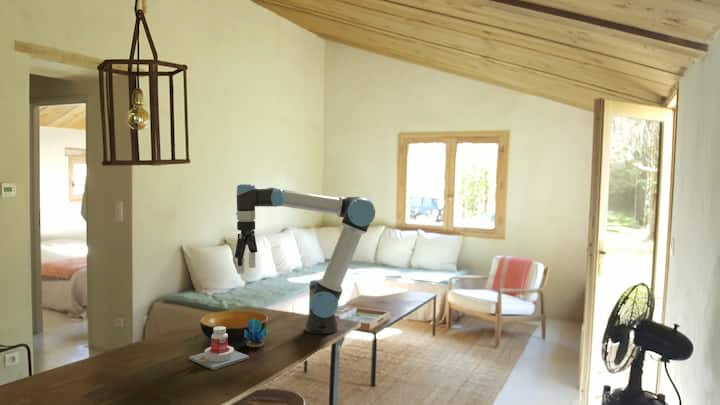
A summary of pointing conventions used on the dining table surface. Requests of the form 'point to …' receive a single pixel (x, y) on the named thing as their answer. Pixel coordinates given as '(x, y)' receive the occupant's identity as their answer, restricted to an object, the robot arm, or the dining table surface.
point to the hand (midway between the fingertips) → (246, 270)
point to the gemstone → (255, 333)
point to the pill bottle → (219, 340)
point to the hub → (218, 358)
